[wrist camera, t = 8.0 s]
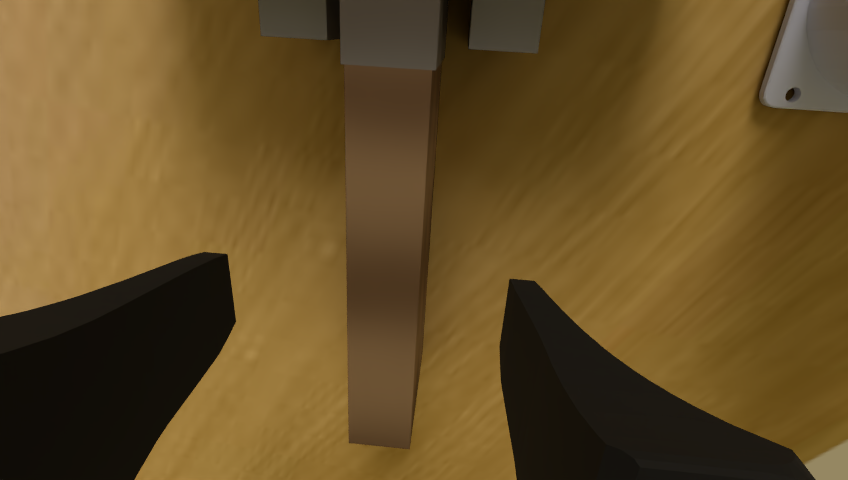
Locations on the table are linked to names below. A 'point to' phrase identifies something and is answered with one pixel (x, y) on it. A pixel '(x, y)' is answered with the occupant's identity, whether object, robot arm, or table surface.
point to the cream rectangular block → (489, 26)
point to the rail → (388, 204)
